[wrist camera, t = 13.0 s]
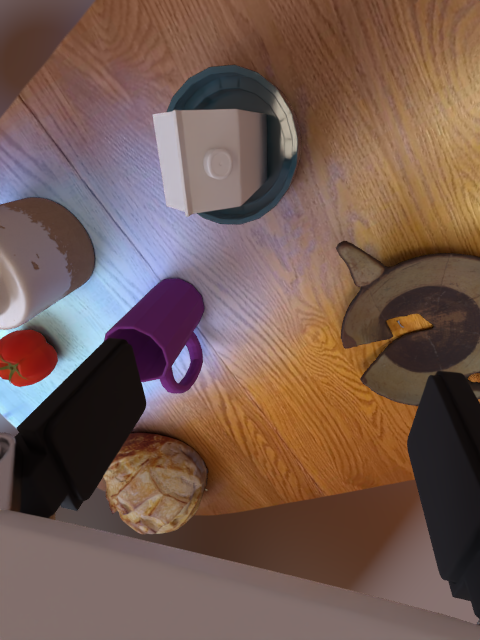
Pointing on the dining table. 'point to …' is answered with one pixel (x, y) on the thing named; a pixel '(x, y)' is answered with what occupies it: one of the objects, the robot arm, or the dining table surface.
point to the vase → (39, 258)
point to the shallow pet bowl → (282, 130)
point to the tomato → (26, 357)
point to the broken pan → (415, 298)
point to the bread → (155, 483)
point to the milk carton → (211, 157)
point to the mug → (164, 332)
